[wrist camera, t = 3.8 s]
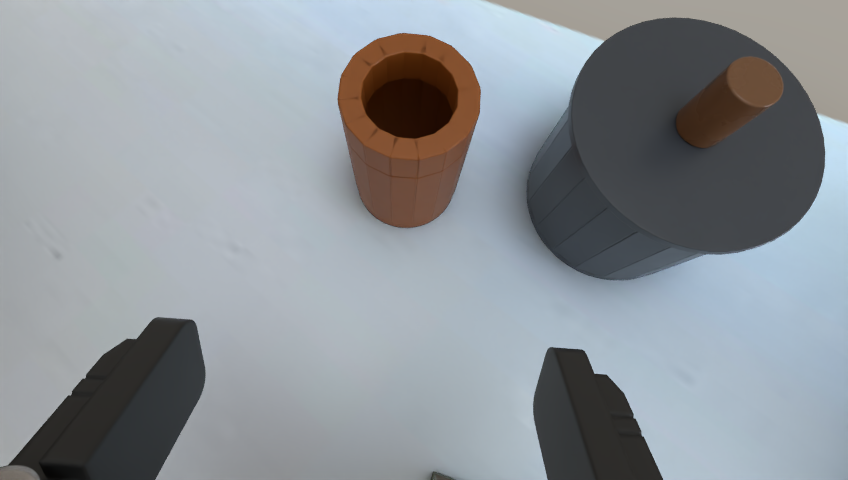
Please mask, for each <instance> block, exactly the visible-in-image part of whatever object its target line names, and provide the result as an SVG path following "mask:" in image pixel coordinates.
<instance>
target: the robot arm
mask: <svg viewBox="0 0 848 480" xmlns="http://www.w3.org/2000/svg"><path fill="white" fill-rule="evenodd" d="M204 383H205V365H204V360H203V355H202V350H201V345H200V340H199V335H198V331H197V326H196V324H195V322H194V321H193V320H188V319H175V318H161V317H157V318H155V319H153V320H152V321H151V322H150V323H149V324H148V326H147V327H146V328H145V329H144V331H143V332H142V333H141V334H140V336H139V337H138V338H137V339H126V340H125V341H123V342H122V343H120V344H119V345H117V346H116V347H114V348H113V349H111V350H110V351H108V352H107V353H105V354H104V355H103V356H102V357H101V358H100V359H99V360H98V361H97V363H96V364H95V365H94V366H93V367H92V368H91V370H90V371H89V372H88V373H87V374H86V378H85V379H82V380H81V381H80V382H79V384H78V385H77V386H76V387H75V388H74V389H73V391H72V394H71V396H69V395H68V396H67V398H66V399H65V400H64V401H63V402H62V403H61V405H60V406H59V407H58V408H57V409H56V410H55V412H54V413H53V414H52V415H51V416H50V417H49V419H48V420H47V421H46V422H45V423H44V424H43V426H42V427H41V428H40V429H39V430H38V431H37V433H36V434H35V435H34V436H33V437H32V438H31V440H30V441H29V442H28V443H27V444H26V445H25V447H24V448H23V449H22V450H21V451H20V452H19V454H18V455H17V456H16V457H15V458H14V459H13V460H12V461H11V463H10V464H9V465H8V466H3V467H0V480H155V479H156V477H157V475H158V473H159V471H160V470H161V468H162V466H163V464H164V462H165V460H166V459H167V457H168V455H169V453H170V451H171V449H172V448H173V446H174V444H175V442H176V440H177V438H178V437H179V435H180V433H181V431H182V429H183V427H184V426H185V424H186V422H187V420H188V418H189V416H190V415H191V413H192V411H193V409H194V407H195V405H196V404H197V402H198V400H199V398H200V396H201V393H202V391H203V387H204ZM533 413H534V421H535V426H536V430H537V435H538V439H539V443H540V448H541V452H542V457H543V461H544V465H545V470H546V474H547V479H548V480H663V478H662V476H661V474H660V472H659V469H658V467H657V465H656V463H655V461H654V458H653V456H652V454H651V452H650V450H649V447H648V445H647V443H646V441H645V439H644V437H642V435H641V430H640V428H639V425H638V423H637V421H636V419H634V418H633V415H634V414H633V412H632V410H631V408H630V406H629V403H628V401H627V399H626V397H625V395H624V393H623V392H622V391H621V390H620V389H619V388H618V386H617V385H616V384H615V383H614V382H613V381H612V380H611V379H610V378H609V377H608V376H607V375H602V374H594V372H593V369H592V367H591V364H590V362H589V359H588V357H587V355H586V353H585V351H583V350H580V349H566V348H553V347H550V348H549V349H548V350H547V352H546V355H545V359H544V362H543V366H542V369H541V373H540V376H539V380H538V384H537V387H536V391H535V395H534V403H533Z"/></svg>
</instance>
